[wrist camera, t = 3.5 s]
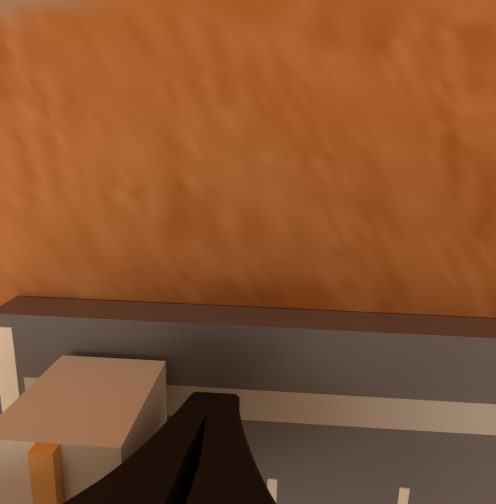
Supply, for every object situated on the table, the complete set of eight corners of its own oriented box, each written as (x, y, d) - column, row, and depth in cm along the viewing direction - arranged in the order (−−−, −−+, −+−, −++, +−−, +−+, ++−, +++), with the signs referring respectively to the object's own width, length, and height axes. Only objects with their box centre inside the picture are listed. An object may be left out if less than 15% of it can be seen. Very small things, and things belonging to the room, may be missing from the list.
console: (559, 321, 13) (595, 343, 11) (495, 623, 16) (518, 673, 14) (17, 296, 14) (-14, 313, 12) (49, 585, 17) (27, 628, 15)
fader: (165, 361, 12) (115, 458, 8) (167, 452, 13) (122, 581, 9) (61, 355, 12) (-35, 448, 8) (69, 446, 13) (-16, 569, 9)
